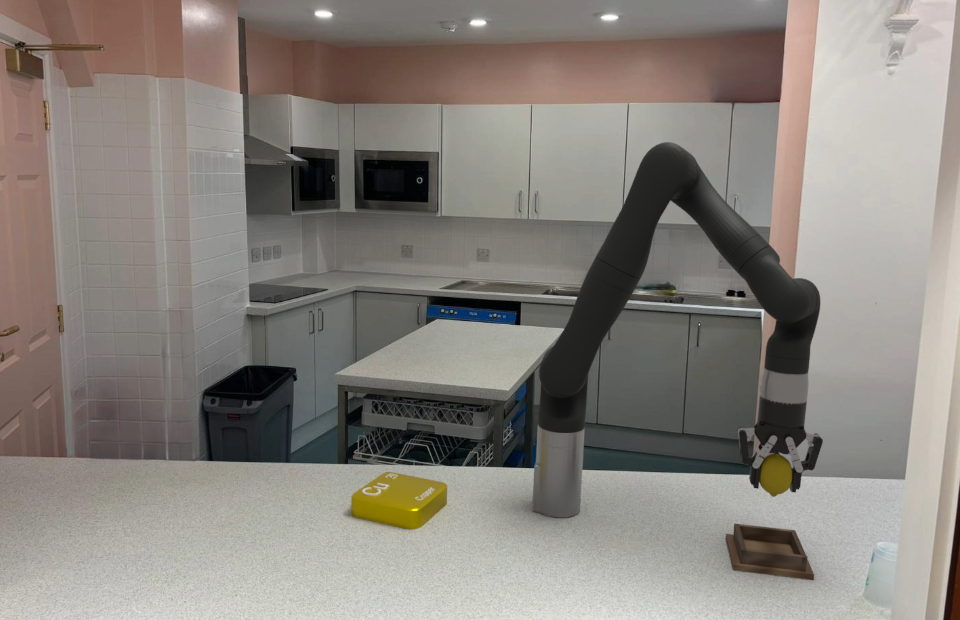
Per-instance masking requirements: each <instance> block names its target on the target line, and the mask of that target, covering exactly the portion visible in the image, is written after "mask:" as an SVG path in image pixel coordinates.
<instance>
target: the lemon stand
mask: <svg viewBox="0 0 960 620" xmlns="http://www.w3.org/2000/svg"><path fill="white" fill-rule="evenodd" d="M725 542H726V546H727V550H728V554H729V559H730V563H731V566H732V567H731V568H732V571H736V572H737V571H738V572H746V573H747V572H748V573H755V574H762V575H769V576H771V575H772V576H779V577H787V578H795V579H802V580H811V581H814V579H815V573H814V571H813V569H812V567H811V564H810V562H809V560H808V556H807V554H806V552H805V550H804V547H803V545H802V543H801V540H800V538H799V535H798V534H797V530H795V529H789V528H776V527H769V526H760V525H751V524H743V523H735V522H734V523H733V534H731V533H725Z"/></svg>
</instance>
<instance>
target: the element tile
mask: <svg viewBox="0 0 960 620" xmlns="http://www.w3.org/2000/svg"><path fill="white" fill-rule="evenodd" d="M350 503H351V505H350V506H351V509H350V510H351V511H350V513H351V517H352V516H353V517H354V518H357V519H362V520H366V521H370V522H375V523H379V524H383V525H387V526H393V527H397V528H401V529H405V530H418V529H420V528H422V527H423V526H424V525H425V524H427V523H428V522H429V521H430V520H432V518H434V516H435V515H437V514H438V513H439V512H440V511H441V510H442V509H444V507H446V505H448V504H447V503H448V485H447V483H445V482H444V481H443V482H442V481H438V480H434V479H428V478H421V477H418V476H412V475H408V474H402V473H397V472H391V471H386V472H384V473H381V474H380V475H379V476H377V477H375V478H374V479H372V480H371V481H369V482H368V483H367V484H365V485H364V486H362V487H361V488H360V489H358V490H357V491H355V492H354V493H352V495H351V501H350Z"/></svg>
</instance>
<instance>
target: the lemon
mask: <svg viewBox="0 0 960 620" xmlns="http://www.w3.org/2000/svg"><path fill="white" fill-rule="evenodd" d="M759 467H760V478H759V486H761V488H762V489H763V490H764V491H765V492H766V493H769V495H770V496H771V497H772V498H775V497H777V496H778V495H781V494H784V493H786V492H787V491H788V490H790V488H789V487H790V485H791V482H792V476H793V475H792V468H793V467H792V465H791V463H790V461H789V459H787V458H786V457H785V456H783V455H782V454H781V453H770V454H768V455H767V457H766V458H765V459H764V460H763V462H762V463H761V465H760V466H759Z"/></svg>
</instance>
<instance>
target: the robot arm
mask: <svg viewBox="0 0 960 620" xmlns="http://www.w3.org/2000/svg"><path fill="white" fill-rule="evenodd" d="M670 202H672V203H673V204H675V205H676V206H677V207H678V208H680V209H681V210H682V211H684V212H685V213H686V214H687V215H688V216H689V217H690V218H691V219H692V220H693V221H694V222H696V224H697V225H698V226H699V227H700V228H701V230H702V231H703V232H704V234H705V236H706V237H707V238H708V239H709V241H710V242H711V244H712V245H713V246H714V248H715V249H716V251H717V252H718V253H719V254H720V255H721V256H722V258H723V259H724V260H725V262H726V263H728V264H729V265H730V266H731V268H733V270H734V271H735V272H736V273H737V274H738V275H739V276H740V277H741V278H742V279H743V280H744V281H745V282H746V284H747V286H748V287H749V289H750V291H751V292H752V294H753V295H754V297H755V299H756V300H757V301H758V303H759V305H760V306H761V308H762V309H763V310H764V311H765V312H766V313H767V314H768V315H769V316H770V317H771V318H773V319H774V320H775V325H774V330H773V332H772V334H771V335H770V337H769V338H768V339H767V342H766V347H765V357H764V358H765V359H764V366H763V372H762V375H761V380H760V381H761V382H760V386H759V400H758V412H757V414H758V415H757V421H756V423H755V425H754V426H753V427H748V428H745V427H744V426H739V427H738V428H737V438H738V445H739V446H738V447H739V457H740V459H741V462H742V464H745V465H748V466H749V467H750V468H749V477H748V478H749V479H748V480H749V482H750V484H751V486H752V487H753V488H754V489H759V488H760V487H759V486H760V483H759V478H760V465H761V463H762V462H763V460H764V459H765V458H766V457H767V456H768V455H769V454H775V453H779V454H781V455H782V454H783V455H789V458H790V460H791V463H792V467H791V468H792V475H793V476H792V482H791V485H790V487H789V490H790V492H791V493H794V494H795V493H797V490H799V489H800V488H801V485H802V484H801V482H802V477H803V475H802V474H803V472H804V471H813V470H814V469H815V467H816V465H817V461H818V458H819V455H820V452H821V448H822V445H823V443H824V441H823V438H822V437H821V435H820V434H819V433H816V432H815V433H811V432H810V433H809V432H806V429H805V422H806V414H807V405H808V404H807V403H808V393H809V370H810V360H811V345H812V341H813V338H814V335H815V332H816V328H817V324H818V320H819V316H820V313H821V312H820V311H821V294H820V291H819V289H818V287H817V286H816V284H814V283H813V282H812V281H811V280H809V279H806V278H802V277H794V278H793V277H791V275H789V273H788V272H787V271H786V270H785V269H784V267H783V266H782V265H781V264H780V263H781V258H780V255H779V254H778V252H777V251H776V250H775V249H774V248H773V247H772V245H770V244H769V243H768V241H767V240H766V239H765V238H764V237H763V236H762V235H761V234H760V233H759V232H758V231H757V230H756V229H755V228H754V227H753V226H752V225H751V224H749V223H748V222H747V220H745V219H744V218H743V217H742V216H741V215H740V214H739V213H738V212H737V211H736V210H735V209H734V208H733V207H731V206H730V205H729V203H728V202H727V201H726V200H725V199H724V198H723V197H722V196H721V195H720V194H719V192H718V191H717V189H716V188H715V187H714V186H713V185H712V183H711V182H710V180H709V179H708V177H707V175H706V174H705V173H704V171H703V169H702V168H701V166H700V165H699V163H698V161H697V159H696V158H695V157H694V155H693V154H691V153H690V152H689V151H687V150H686V149H685V148H684V147H682V146H681V145H679V144H677V143H675V142H671V141H669V142H668V141H667V142H666V141H664V142H661V143H658V144H655V145H654V146H652V147H651V148H650V149H649V150H648V151H647V152H646V154H644V156H643V158H642V159H641V161H640V164H639V166H638V168H637V170H636V173H635V176H634V179H633V181H632V183H631V186H630V188H629V191H628V193H627V195H626V199H625V201H624V203H623V205H622V207H621V209H620V211H619V213H618V215H617V217H616V218H615V220H614V223H613V224H612V226H611V227H610V229H609V232H608V234H607V235H606V237H605V239H604V241H603V242H602V245H601V247H600V248H599V249H598V251H597V254H596V256H595V258H594V259H593V261H592V263H591V265H590V267H589V269H588V270H587V272H586V275H585V277H584V280H583V282H582V285H581V286H580V289H579V292H578V294H577V297H576V300H575V303H574V305H573V308H572V311H571V313H570V317H569V318H568V321H567V323H566V325H565V327H564V329H563V330H562V331H561V333H560V335H559V337H558V338H557V340H556V341H555V343H554V345H552V346H551V347H550V348H548V350H547V351H546V352H545V353H544V355H543V357H542V359H541V361H540V364H539V369H538V377H539V378H538V379H539V381H540V392H539V393H540V396H539V403H538V405H539V406H538V412H537V414H538V415H537V431H536V432H537V435H536V453H535V454H536V455H535V456H536V457H535V463H534V466H533V467H534V469H533V486H532V487H533V488H532V489H533V490H532V491H533V492H532V509H531V510H532V512H536V513H540V514H542V515H544V516H548V517H551V518H552V517H553V518H568V517H572V516H576V515H577V514H578V513H580V511H581V500H582V483H583V482H582V481H583V480H582V479H583V464H584V450H585V449H584V448H585V446H584V445H585V431H586V430H585V428H586V414H587V404H588V403H587V401H588V400H587V399H588V387H589V386H588V383H589V374H590V370H591V368H592V365H593V363H594V360H595V358H596V356H597V353H598V351H599V349H600V347H601V344H602V343H603V341H604V339H605V337H606V336H607V334H608V333H609V332H610V330H611V328H612V327H613V325H614V324H615V322H616V321H617V319H619V316H620V315H621V314H622V311H624V308H625V307H626V305H627V304H628V301H629V300H630V298H631V297H632V295H633V294H634V291H635V289H636V288H637V286H638V284H639V283H640V280H641V278H642V276H643V275H644V272H645V270H646V268H647V265H648V261H649V256H650V254H651V248H652V243H653V240H654V239H653V238H654V234H655V231H656V228H657V225H658V224H659V221H660V220H661V217H662V216H663V214H664V212H665V211H666V209H667V207H668V206H669V204H670ZM753 436H755V437H756V438H757V440H758V441H759V443H758V445H757V446H756V448H755V451H754V452H753V454H752V456H751V455H749V443H748V442H750V441H751V440H752V437H753ZM805 440H806V444H807V445H808V448H807V451H806V455H805V457H804V459H803V460H801V459H800V455H799V453H798V450H797V448H798V447H799V446H800V445H801V444H802V443H803V442H804V441H805Z"/></svg>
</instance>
